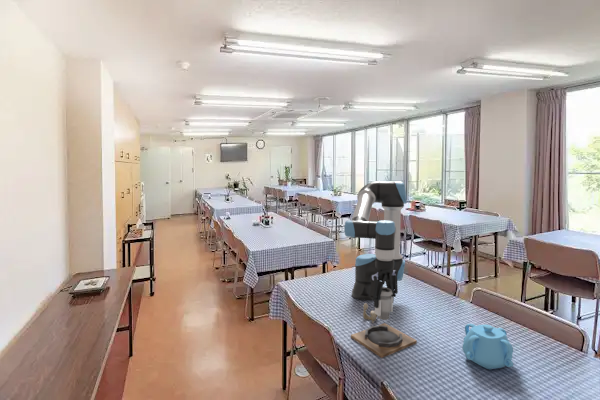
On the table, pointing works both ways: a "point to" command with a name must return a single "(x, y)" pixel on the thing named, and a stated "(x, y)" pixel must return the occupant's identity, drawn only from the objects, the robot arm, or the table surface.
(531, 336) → the table surface
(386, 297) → the cup
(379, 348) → the ring holder
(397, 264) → the robot arm
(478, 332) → the decorative pot
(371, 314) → the bone
